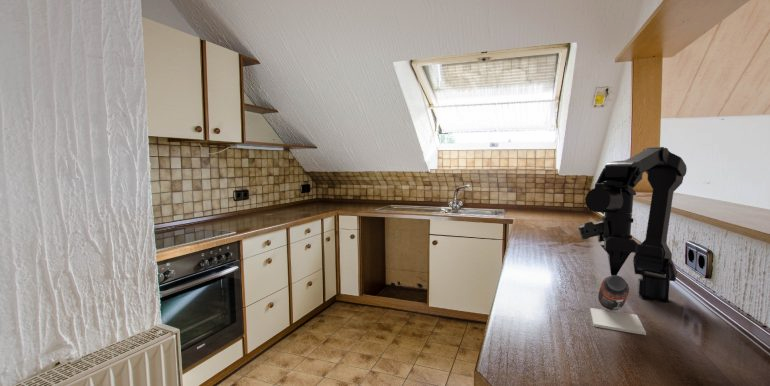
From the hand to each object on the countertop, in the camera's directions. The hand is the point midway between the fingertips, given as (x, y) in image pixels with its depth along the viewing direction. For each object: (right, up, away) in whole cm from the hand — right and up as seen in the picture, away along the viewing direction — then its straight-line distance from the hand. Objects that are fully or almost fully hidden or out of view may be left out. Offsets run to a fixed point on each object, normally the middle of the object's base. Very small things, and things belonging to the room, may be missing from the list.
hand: (613, 275), depth 92 cm
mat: (-1, -10, -3) cm, 11 cm away
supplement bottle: (+3, -8, +5) cm, 10 cm away
